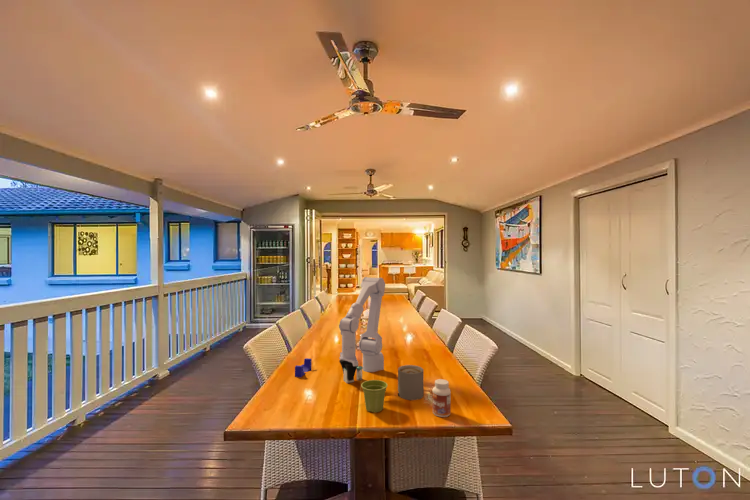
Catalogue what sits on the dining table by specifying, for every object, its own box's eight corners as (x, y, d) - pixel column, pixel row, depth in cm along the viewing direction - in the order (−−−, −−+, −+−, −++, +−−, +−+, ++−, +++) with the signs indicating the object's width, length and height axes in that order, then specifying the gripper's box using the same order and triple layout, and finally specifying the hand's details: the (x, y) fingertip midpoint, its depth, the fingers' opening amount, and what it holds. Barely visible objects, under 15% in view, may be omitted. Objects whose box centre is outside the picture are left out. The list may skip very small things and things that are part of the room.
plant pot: (367, 417, 117) (367, 391, 117) (357, 405, 125) (357, 382, 125) (391, 412, 120) (391, 387, 120) (380, 401, 129) (380, 378, 129)
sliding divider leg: (350, 379, 148) (350, 366, 148) (353, 382, 145) (353, 368, 145) (343, 380, 146) (343, 367, 146) (346, 383, 143) (346, 369, 143)
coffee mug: (415, 402, 128) (415, 375, 128) (393, 395, 134) (393, 370, 134) (431, 390, 139) (431, 365, 139) (410, 385, 145) (410, 361, 145)
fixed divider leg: (360, 378, 150) (360, 365, 150) (363, 380, 147) (363, 367, 147) (355, 379, 148) (355, 366, 148) (357, 381, 146) (357, 368, 146)
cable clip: (302, 370, 163) (302, 358, 163) (311, 371, 162) (311, 358, 162) (291, 380, 151) (291, 366, 151) (301, 380, 150) (301, 366, 150)
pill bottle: (429, 414, 119) (429, 381, 119) (438, 407, 124) (438, 376, 124) (445, 419, 115) (445, 386, 115) (453, 413, 120) (453, 381, 120)
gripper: (333, 343, 150) (333, 374, 150) (346, 351, 137) (346, 386, 137) (348, 341, 153) (348, 371, 153) (362, 349, 140) (362, 382, 140)
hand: (348, 378), depth 145 cm, fingers closed on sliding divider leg, 4 cm apart
